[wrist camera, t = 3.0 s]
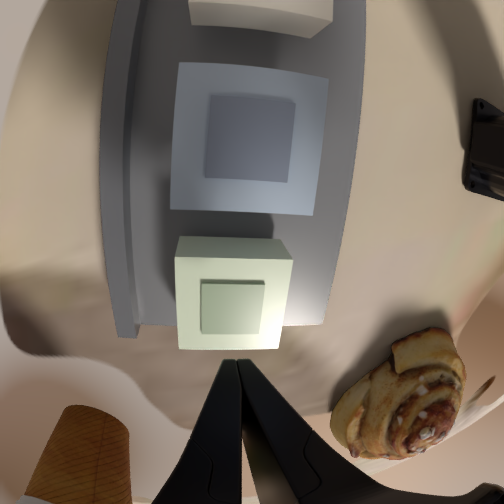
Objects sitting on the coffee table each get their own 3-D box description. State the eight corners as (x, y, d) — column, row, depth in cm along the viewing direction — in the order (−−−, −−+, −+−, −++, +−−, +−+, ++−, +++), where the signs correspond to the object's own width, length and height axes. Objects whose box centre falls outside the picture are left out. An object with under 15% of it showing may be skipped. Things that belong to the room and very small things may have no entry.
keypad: (355, -10, 10) (376, -25, 8) (315, 312, 17) (329, 337, 15) (143, -34, 8) (134, -56, 6) (127, 310, 16) (118, 337, 13)
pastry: (457, 304, 20) (517, 361, 13) (436, 399, 26) (468, 446, 19) (315, 372, 20) (353, 463, 13) (334, 449, 26) (356, 506, 19)
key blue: (306, 87, 10) (330, 78, 7) (294, 199, 11) (314, 217, 9) (185, 75, 9) (178, 61, 7) (177, 194, 11) (169, 210, 8)
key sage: (280, 239, 13) (294, 261, 11) (269, 320, 15) (278, 350, 13) (179, 235, 12) (174, 258, 10) (181, 320, 14) (178, 351, 12)
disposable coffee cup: (97, 454, 22) (85, 550, 11) (29, 400, 18) (-7, 506, 7) (168, 443, 21) (169, 562, 10) (95, 381, 17) (61, 530, 7)
